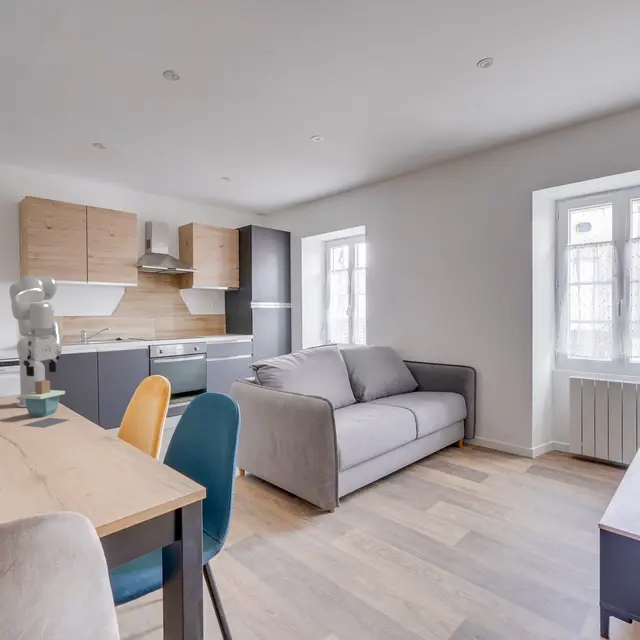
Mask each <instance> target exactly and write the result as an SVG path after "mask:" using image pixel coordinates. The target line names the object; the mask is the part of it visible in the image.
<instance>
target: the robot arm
mask: <svg viewBox="0 0 640 640" xmlns="http://www.w3.org/2000/svg"><path fill="white" fill-rule="evenodd" d="M57 286H58V283H57V281H56V279H55V278H54V277H53V276H50V275H32V274H31V275H24V276H22V277H21V278H20V279H19V281H18V282H16V283H12V284H11V285H10V286H9V291H8V292H9V297H10V301H11V306H10V307H11V313H12V315H13V317H14V319H16V320H17V321H18V322H17V323H18V331H19V333H20V336H22V337H24V338H22V339H19V340H18V342H17V344H16V351H17V355H18V356H17V357H18V361H19V379H20V380H19V381H20V384H19V385H20V387H19V388H20V395H22V394H27V393H32V392H35V381H41V380H46V370H45V369H46V367H45V365H44V363H43V361H48V372H50V373H56V372H57V363H58V361H59V359H60V358H61V354H62V351H63V343H62V337H61V332H60V325H59V321H58V320H57V319H56V318H54V317H53V316H54V313H55V311H54V310H55V309H54V306H53V305H52V304H51V303H50V302H48V301H49V300H52V299H53V298H54V296H55V294H56V292H57V289H58V287H57ZM45 301H47V302H45ZM16 400H18V401H19V402H17V403H16V407H18V408H27V406H26V401H25V398H20V396H17V397H16Z"/></svg>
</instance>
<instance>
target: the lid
mask: <svg viewBox="0 0 640 640" xmlns="http://www.w3.org/2000/svg"><path fill="white" fill-rule="evenodd" d="M65 394H66V391H65V390H57V389H56V390H55V389H51V381H50V380H49V379H47V380H46V379H45V380H41V381H35V392H32V393H27V394H22V395H21V394H19V397H20V398H27V399H45V398H49V397H53V396H58V395H59V396H61V395H62V396H63V395H65Z"/></svg>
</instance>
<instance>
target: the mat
mask: <svg viewBox="0 0 640 640" xmlns="http://www.w3.org/2000/svg"><path fill="white" fill-rule="evenodd" d="M67 421H69V419H68V418H67V419H65V418H54V417H48V418H44V419H41V420H36V421H33V422H32V421H31V422H29V423H26V424H22V427H23V426H24V427H31V428H42V429H43V428H44V429H45V428H48V427H51V426H55V425H58V424H62V423H65V422H67Z"/></svg>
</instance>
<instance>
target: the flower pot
mask: <svg viewBox="0 0 640 640" xmlns="http://www.w3.org/2000/svg"><path fill="white" fill-rule="evenodd" d="M25 401H26V406H27V407H26V410H27V412H28V414H29V416H31V418H34V417H39V418H42V417H44V418H45V417H48V416H50V415H53V414H55V413H56V411H57V409H58V407H59V401H60V395H58V396H53V397H49V398H45V399H27V398H25Z"/></svg>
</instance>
